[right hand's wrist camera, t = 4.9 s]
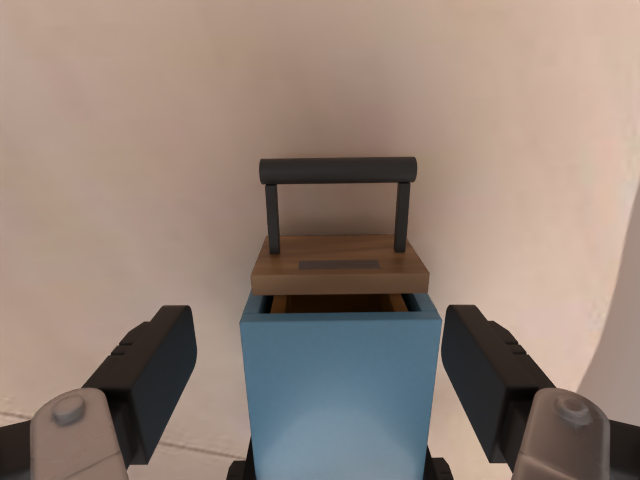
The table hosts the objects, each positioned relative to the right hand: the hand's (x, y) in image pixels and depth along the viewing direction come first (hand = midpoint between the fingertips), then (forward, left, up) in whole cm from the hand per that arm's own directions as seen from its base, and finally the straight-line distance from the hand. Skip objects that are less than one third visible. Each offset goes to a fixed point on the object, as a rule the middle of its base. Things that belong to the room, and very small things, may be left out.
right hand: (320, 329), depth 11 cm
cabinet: (+12, -1, -14) cm, 19 cm away
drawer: (+7, 0, -13) cm, 15 cm away
